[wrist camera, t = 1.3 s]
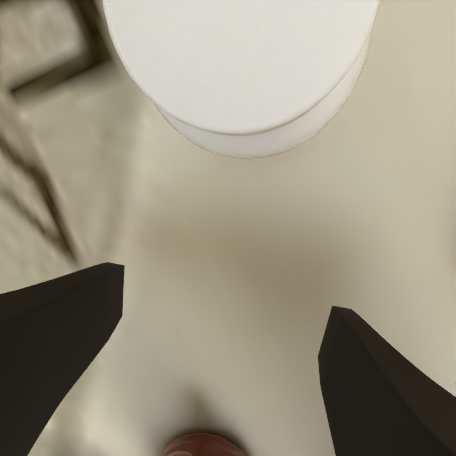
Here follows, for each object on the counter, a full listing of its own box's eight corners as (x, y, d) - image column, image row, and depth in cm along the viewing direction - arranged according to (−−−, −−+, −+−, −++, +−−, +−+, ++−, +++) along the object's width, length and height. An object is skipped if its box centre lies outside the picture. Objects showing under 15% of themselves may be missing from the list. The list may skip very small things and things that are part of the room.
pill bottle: (204, 148, 17) (94, 186, 6) (192, 17, 15) (11, -228, 5) (322, 140, 16) (417, 167, 6) (323, -1, 14) (466, -353, 4)
